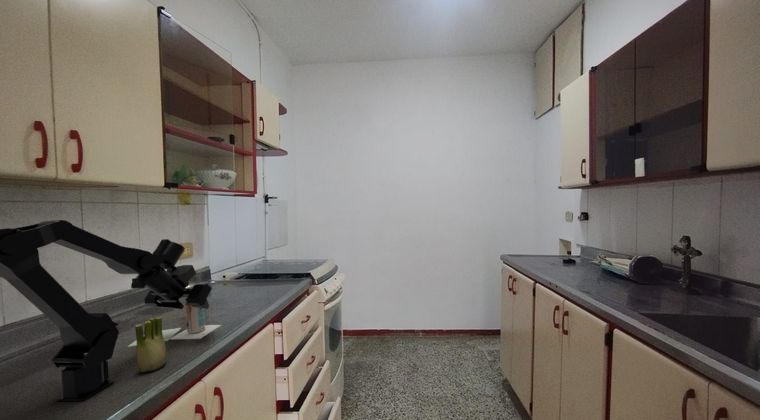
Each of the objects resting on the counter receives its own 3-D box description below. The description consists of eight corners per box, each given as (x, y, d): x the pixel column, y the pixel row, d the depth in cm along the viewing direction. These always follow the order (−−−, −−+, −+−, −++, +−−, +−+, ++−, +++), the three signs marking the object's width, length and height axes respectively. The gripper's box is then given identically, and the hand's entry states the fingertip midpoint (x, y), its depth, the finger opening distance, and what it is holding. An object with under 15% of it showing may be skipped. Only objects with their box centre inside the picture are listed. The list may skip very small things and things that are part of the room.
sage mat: (167, 341, 87) (167, 340, 87) (128, 347, 85) (127, 346, 85) (181, 328, 97) (181, 327, 97) (146, 333, 94) (146, 332, 94)
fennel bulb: (138, 377, 67) (134, 325, 67) (136, 370, 71) (133, 320, 71) (169, 367, 71) (165, 318, 71) (165, 360, 75) (162, 313, 75)
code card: (199, 338, 87) (199, 338, 87) (169, 339, 88) (169, 338, 88) (221, 325, 97) (221, 324, 97) (193, 326, 98) (193, 325, 98)
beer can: (189, 330, 94) (187, 292, 94) (206, 327, 96) (204, 290, 96) (185, 335, 90) (183, 296, 90) (203, 332, 91) (201, 294, 91)
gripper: (204, 256, 86) (232, 284, 97) (150, 259, 89) (183, 285, 100) (184, 291, 78) (217, 317, 89) (125, 292, 81) (164, 317, 92)
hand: (195, 307), depth 93 cm, fingers open, 9 cm apart
